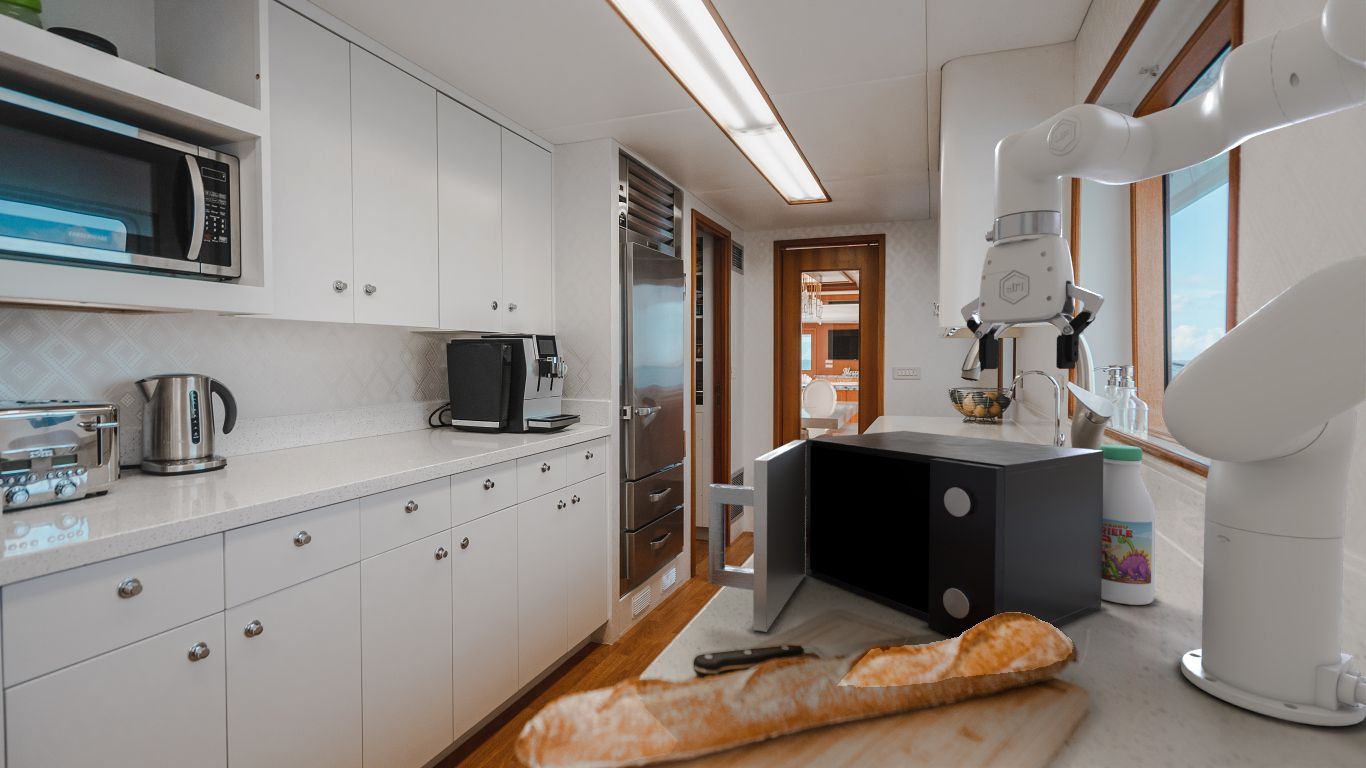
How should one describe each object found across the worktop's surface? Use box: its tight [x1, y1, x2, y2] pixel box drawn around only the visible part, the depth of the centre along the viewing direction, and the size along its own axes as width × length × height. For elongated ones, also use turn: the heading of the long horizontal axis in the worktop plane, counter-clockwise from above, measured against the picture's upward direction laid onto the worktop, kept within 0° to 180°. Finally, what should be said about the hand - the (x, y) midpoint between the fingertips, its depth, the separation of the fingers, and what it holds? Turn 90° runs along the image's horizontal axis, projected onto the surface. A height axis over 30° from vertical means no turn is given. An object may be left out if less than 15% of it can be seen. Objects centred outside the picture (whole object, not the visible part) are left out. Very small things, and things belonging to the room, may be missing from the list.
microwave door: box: [708, 439, 807, 633], centre depth 83 cm, size 8×22×20 cm, turn 157°
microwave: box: [805, 430, 1104, 639], centre depth 85 cm, size 24×30×20 cm
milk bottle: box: [1099, 444, 1157, 606], centre depth 83 cm, size 8×8×20 cm
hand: (1025, 368), depth 79 cm, fingers open, 9 cm apart
